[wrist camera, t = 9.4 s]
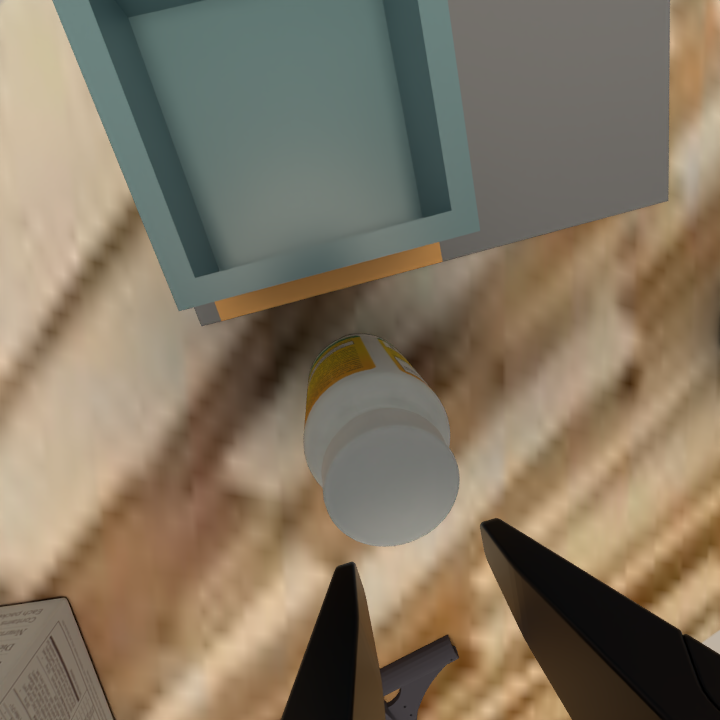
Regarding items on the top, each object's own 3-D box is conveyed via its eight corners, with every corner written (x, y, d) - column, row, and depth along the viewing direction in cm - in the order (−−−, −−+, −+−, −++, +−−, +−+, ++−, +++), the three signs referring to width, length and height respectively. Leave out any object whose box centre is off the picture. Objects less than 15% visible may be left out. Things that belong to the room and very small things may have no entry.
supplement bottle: (415, 339, 19) (507, 414, 10) (396, 430, 20) (462, 569, 11) (314, 325, 18) (313, 392, 9) (301, 420, 20) (289, 563, 10)
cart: (378, -12, 14) (420, -190, 8) (425, 240, 17) (480, 230, 11) (135, 44, 14) (10, -104, 8) (225, 293, 16) (178, 311, 11)
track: (657, -97, 15) (673, -114, 14) (657, 202, 19) (670, 200, 18) (91, 32, 14) (80, 21, 13) (205, 324, 18) (200, 326, 17)
